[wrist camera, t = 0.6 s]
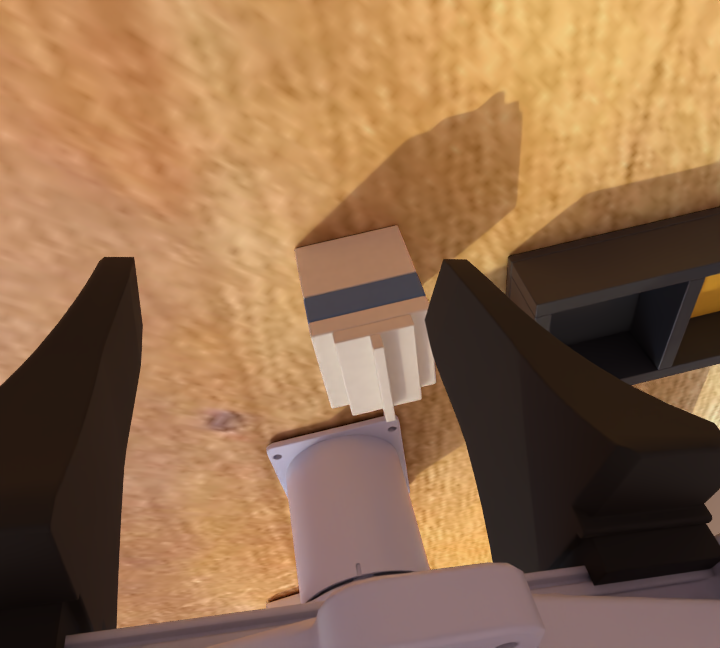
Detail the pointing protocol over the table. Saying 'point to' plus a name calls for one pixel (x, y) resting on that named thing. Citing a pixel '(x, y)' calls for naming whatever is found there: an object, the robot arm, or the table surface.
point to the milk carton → (367, 320)
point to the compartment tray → (630, 296)
